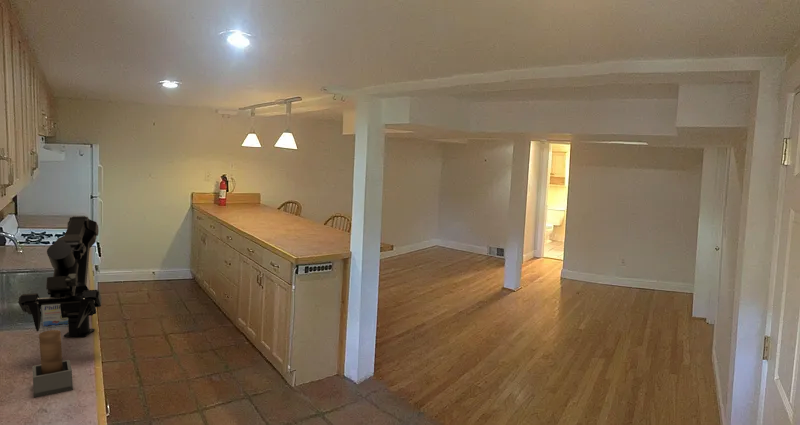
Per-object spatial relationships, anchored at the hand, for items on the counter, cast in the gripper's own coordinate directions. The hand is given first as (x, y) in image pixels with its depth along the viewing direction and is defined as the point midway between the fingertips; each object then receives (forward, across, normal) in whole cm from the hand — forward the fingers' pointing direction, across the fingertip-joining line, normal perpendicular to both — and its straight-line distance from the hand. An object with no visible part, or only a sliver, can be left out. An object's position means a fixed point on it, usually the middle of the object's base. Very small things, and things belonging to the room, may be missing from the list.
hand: (57, 329), depth 140 cm
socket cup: (+16, +1, -1) cm, 16 cm away
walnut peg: (+16, +1, -2) cm, 16 cm away
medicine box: (-20, -9, +37) cm, 43 cm away
